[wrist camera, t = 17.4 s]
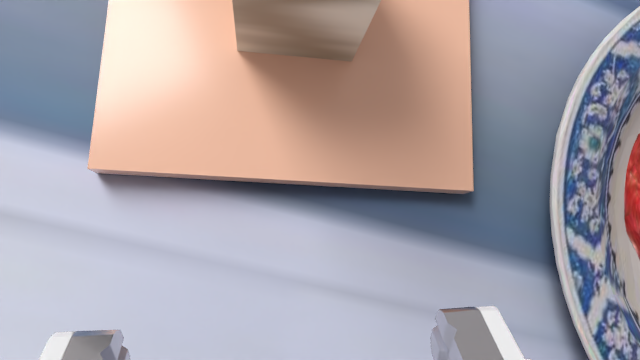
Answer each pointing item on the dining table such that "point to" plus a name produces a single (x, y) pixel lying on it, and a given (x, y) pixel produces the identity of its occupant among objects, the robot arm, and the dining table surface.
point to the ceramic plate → (601, 197)
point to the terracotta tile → (286, 101)
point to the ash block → (303, 27)
